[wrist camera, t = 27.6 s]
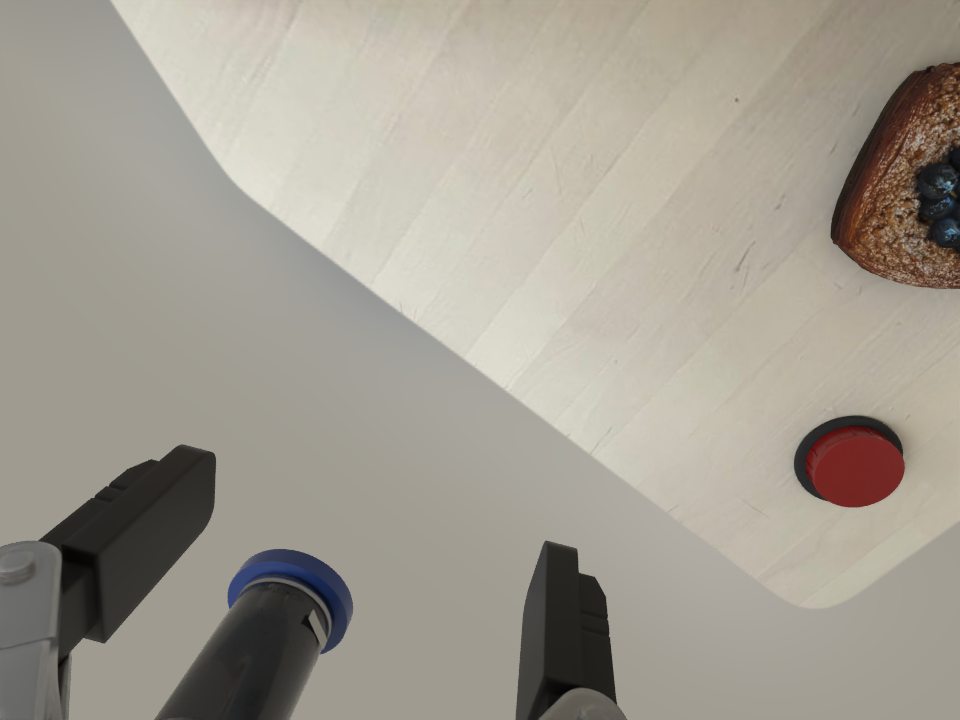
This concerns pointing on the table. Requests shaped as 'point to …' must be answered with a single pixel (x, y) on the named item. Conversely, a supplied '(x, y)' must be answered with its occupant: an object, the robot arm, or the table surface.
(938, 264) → the pastry
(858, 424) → the coaster
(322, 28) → the table surface
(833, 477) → the jar lid
